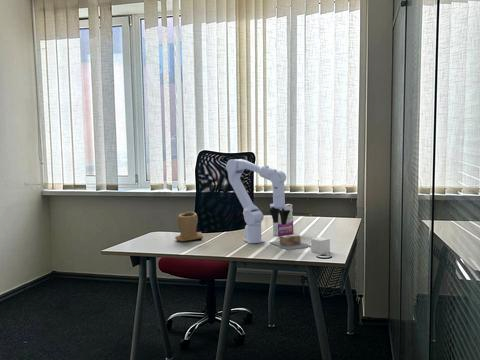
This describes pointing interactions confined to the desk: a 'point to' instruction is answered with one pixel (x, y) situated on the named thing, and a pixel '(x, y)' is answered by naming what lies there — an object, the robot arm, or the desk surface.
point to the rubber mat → (290, 247)
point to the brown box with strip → (289, 240)
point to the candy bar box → (284, 229)
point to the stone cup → (188, 227)
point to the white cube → (320, 245)
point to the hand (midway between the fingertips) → (279, 223)
